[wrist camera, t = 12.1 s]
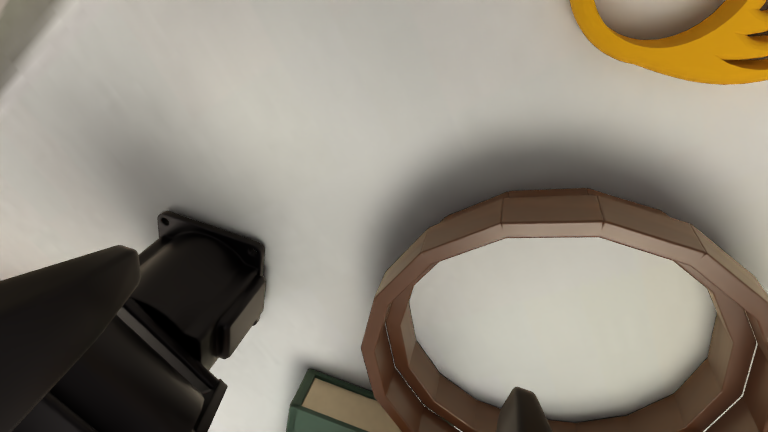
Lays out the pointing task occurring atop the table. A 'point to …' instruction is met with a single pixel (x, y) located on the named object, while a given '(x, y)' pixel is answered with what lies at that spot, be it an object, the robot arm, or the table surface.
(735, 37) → the novelty glasses
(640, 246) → the ring
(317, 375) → the book
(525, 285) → the table surface
